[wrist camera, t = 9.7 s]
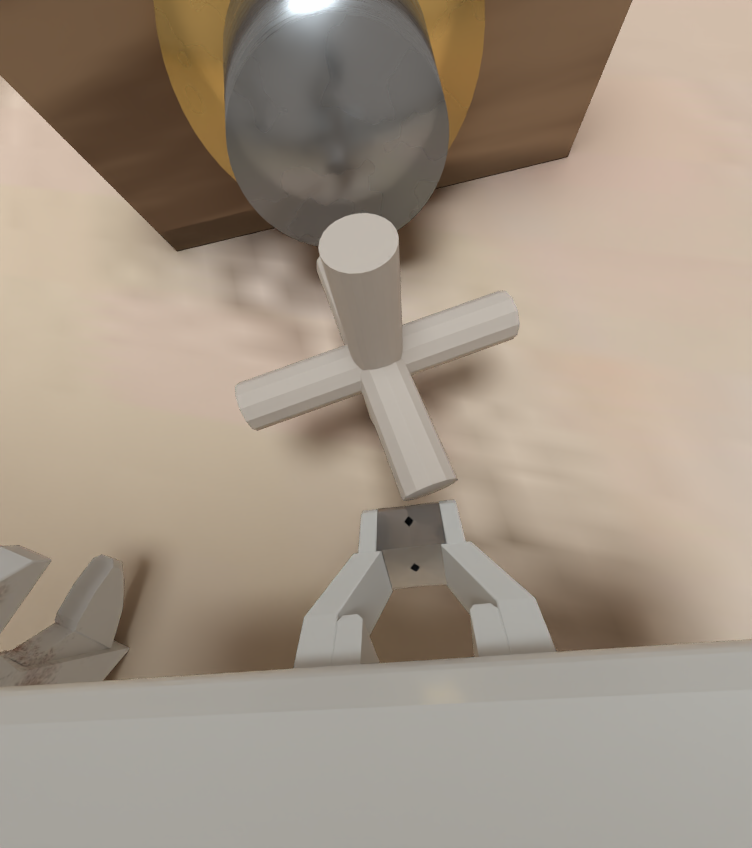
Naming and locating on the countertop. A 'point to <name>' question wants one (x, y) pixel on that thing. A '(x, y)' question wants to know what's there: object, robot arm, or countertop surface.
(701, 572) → the countertop surface
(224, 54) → the door knob
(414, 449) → the pipe connector
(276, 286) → the countertop surface
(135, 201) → the board
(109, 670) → the wrench
